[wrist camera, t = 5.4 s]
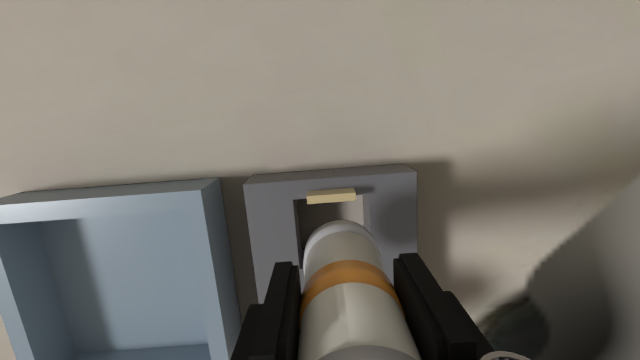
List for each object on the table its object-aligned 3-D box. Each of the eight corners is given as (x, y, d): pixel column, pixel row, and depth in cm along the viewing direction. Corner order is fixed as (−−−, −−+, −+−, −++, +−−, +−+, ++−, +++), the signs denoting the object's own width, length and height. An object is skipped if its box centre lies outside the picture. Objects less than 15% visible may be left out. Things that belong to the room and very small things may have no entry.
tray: (219, 177, 18) (200, 190, 15) (245, 348, 21) (233, 387, 18) (20, 192, 18) (-37, 207, 15) (71, 360, 21) (31, 401, 18)
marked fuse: (376, 217, 13) (467, 385, 5) (379, 285, 13) (461, 525, 6) (301, 222, 13) (272, 397, 5) (307, 290, 14) (291, 535, 6)
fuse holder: (403, 163, 18) (423, 175, 15) (406, 337, 21) (423, 381, 17) (252, 174, 18) (237, 189, 15) (274, 346, 21) (266, 392, 17)
